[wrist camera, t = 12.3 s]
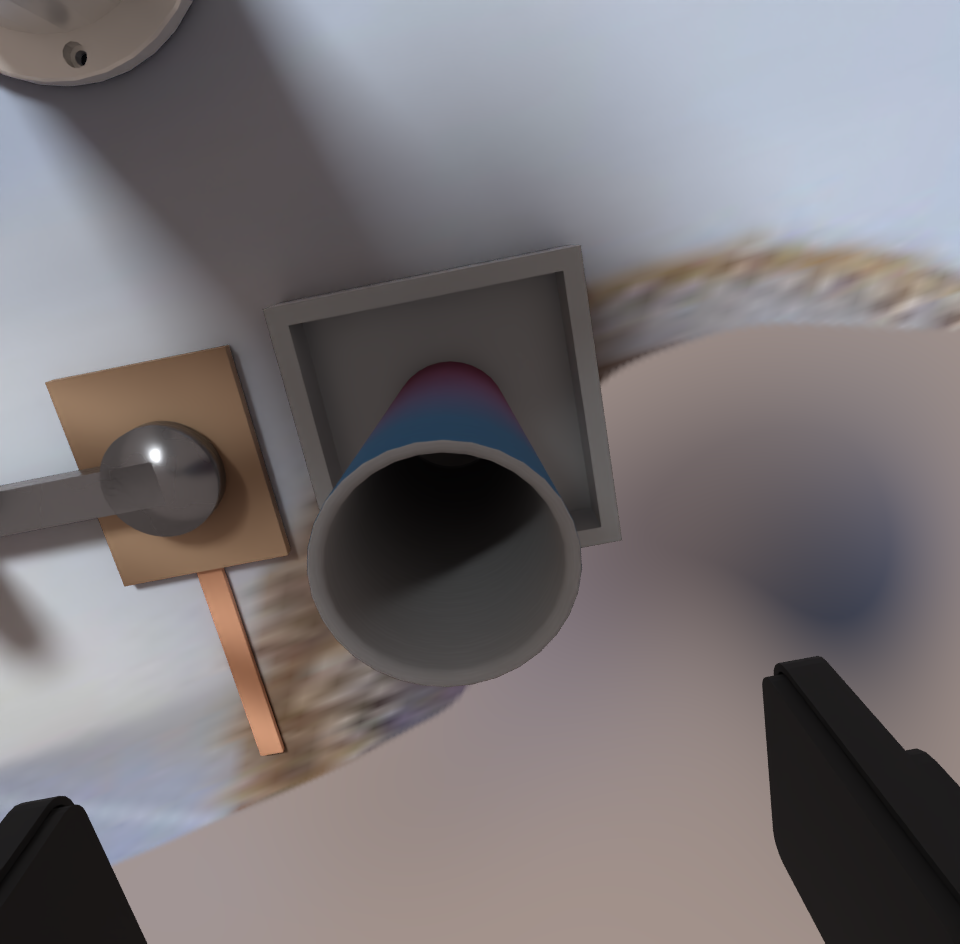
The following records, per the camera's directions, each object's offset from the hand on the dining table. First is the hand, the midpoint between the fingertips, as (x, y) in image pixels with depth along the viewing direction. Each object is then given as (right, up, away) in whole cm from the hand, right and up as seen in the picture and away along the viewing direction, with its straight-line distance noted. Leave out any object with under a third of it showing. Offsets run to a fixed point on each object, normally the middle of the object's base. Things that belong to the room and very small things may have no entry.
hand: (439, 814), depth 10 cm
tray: (-1, +7, +23) cm, 24 cm away
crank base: (-12, 0, +25) cm, 28 cm away
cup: (-1, +7, +22) cm, 23 cm away
